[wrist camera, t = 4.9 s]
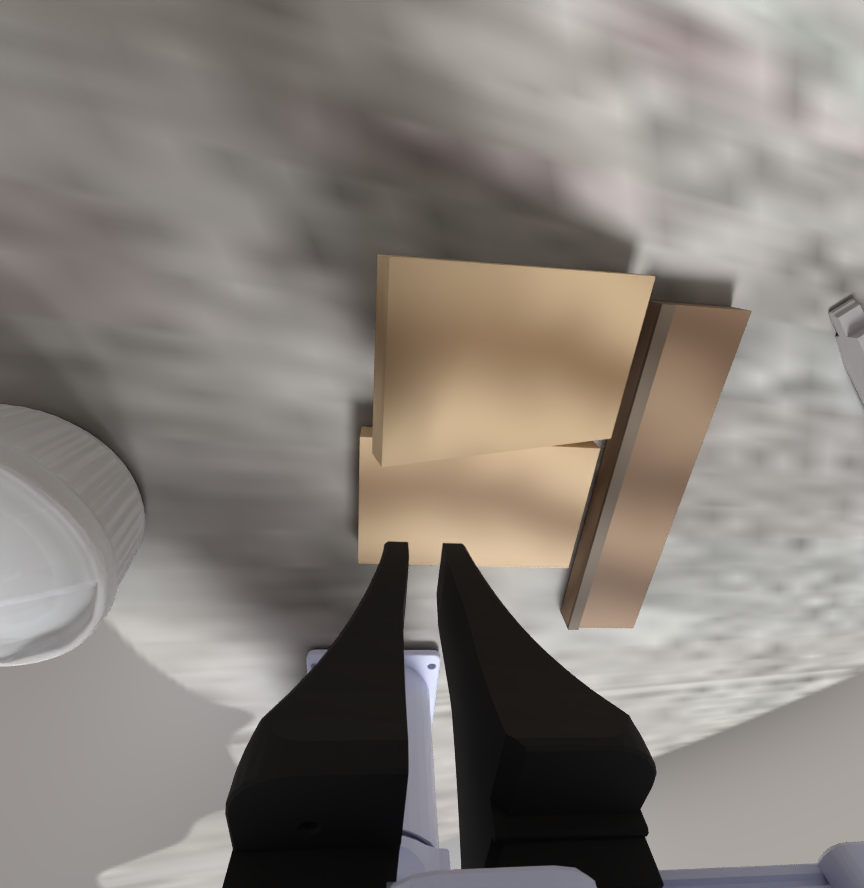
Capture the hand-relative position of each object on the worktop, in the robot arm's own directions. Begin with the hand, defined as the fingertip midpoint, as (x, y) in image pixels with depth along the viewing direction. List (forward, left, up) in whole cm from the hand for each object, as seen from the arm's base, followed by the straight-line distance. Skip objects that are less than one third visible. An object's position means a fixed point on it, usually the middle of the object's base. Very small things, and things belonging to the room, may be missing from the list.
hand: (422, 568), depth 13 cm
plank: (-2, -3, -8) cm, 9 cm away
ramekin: (-3, +18, -9) cm, 20 cm away
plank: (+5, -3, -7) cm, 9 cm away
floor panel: (-1, -11, -9) cm, 14 cm away
